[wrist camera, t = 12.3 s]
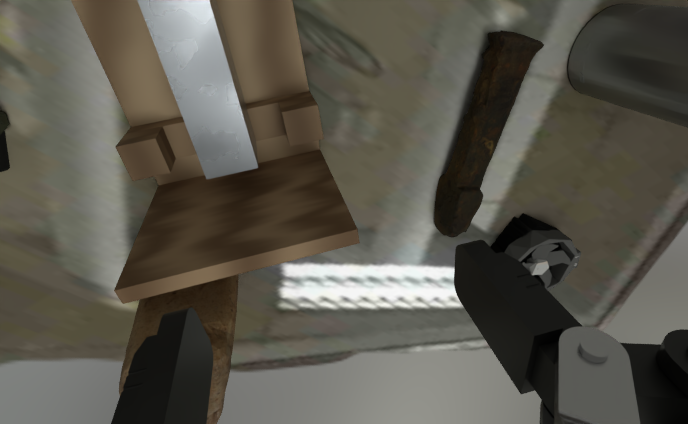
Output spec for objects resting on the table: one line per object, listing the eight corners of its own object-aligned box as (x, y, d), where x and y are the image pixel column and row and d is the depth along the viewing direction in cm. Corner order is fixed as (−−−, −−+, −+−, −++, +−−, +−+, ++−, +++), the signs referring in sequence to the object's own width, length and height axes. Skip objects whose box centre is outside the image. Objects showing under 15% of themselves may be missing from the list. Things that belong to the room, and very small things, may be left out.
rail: (188, -99, 25) (174, -120, 20) (256, 141, 34) (258, 168, 29) (125, -90, 24) (94, -110, 19) (212, 150, 33) (206, 179, 28)
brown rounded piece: (168, 198, 38) (109, 365, 21) (243, 208, 40) (243, 364, 24) (161, 279, 43) (109, 467, 26) (228, 284, 45) (220, 458, 29)
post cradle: (263, -147, 26) (283, -281, 13) (319, 155, 39) (359, 242, 26) (23, -117, 24) (-239, -239, 11) (165, 190, 37) (122, 303, 24)
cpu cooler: (494, 290, 49) (545, 229, 45) (472, 263, 53) (516, 205, 50) (544, 305, 53) (594, 250, 49) (519, 279, 58) (563, 227, 54)
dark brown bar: (482, 24, 36) (517, 31, 32) (522, 36, 38) (560, 43, 33) (410, 220, 47) (428, 246, 42) (443, 223, 48) (464, 248, 44)
